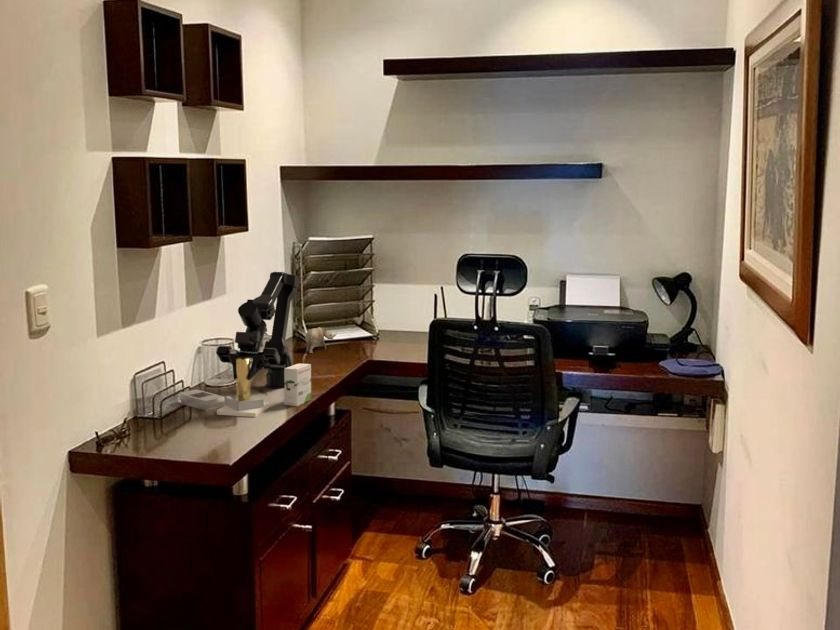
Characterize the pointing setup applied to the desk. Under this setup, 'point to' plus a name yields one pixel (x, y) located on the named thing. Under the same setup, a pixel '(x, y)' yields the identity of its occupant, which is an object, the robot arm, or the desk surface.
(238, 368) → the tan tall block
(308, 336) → the elephant figurine
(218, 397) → the grey socket block
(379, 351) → the desk surface
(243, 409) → the v block
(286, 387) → the ink box
